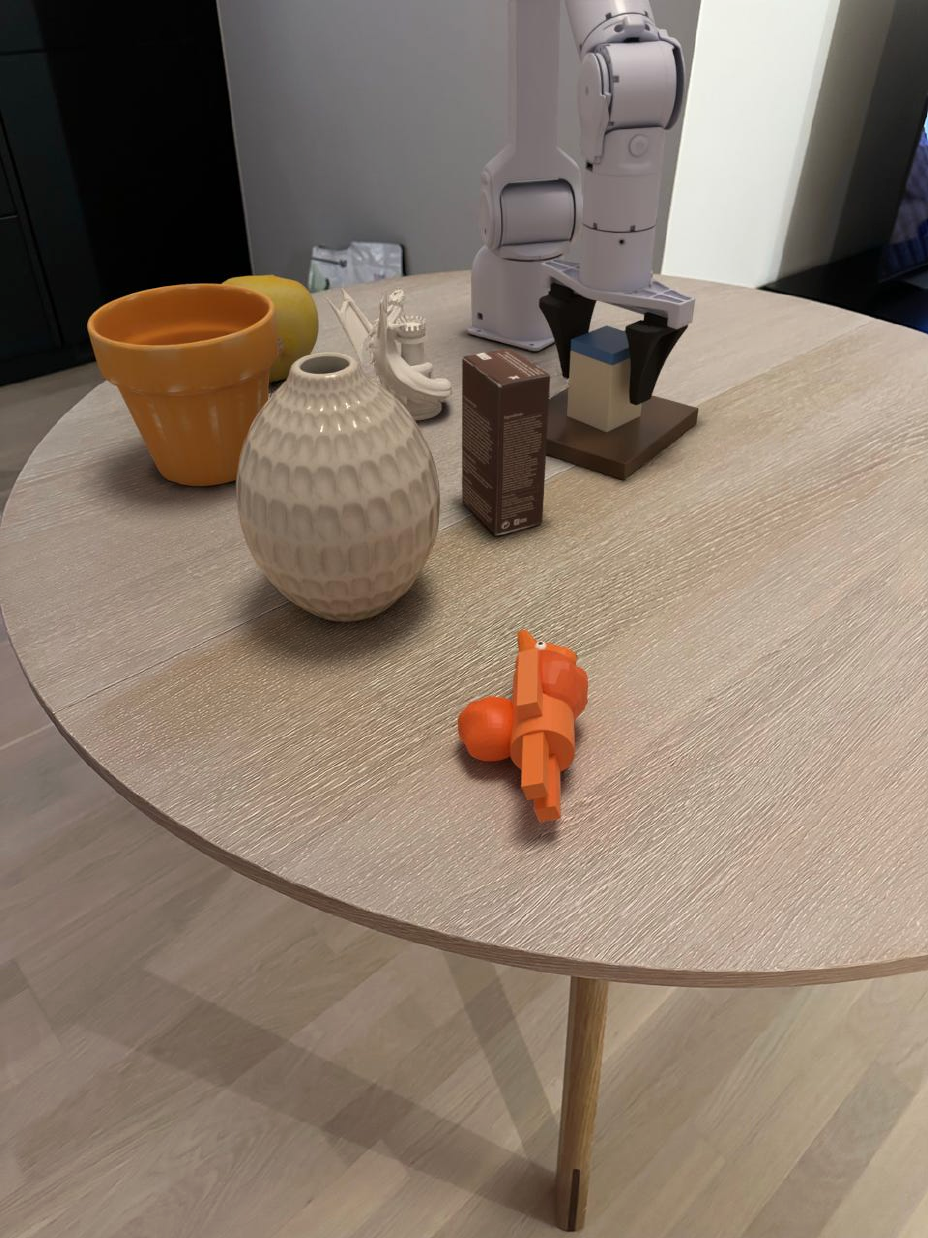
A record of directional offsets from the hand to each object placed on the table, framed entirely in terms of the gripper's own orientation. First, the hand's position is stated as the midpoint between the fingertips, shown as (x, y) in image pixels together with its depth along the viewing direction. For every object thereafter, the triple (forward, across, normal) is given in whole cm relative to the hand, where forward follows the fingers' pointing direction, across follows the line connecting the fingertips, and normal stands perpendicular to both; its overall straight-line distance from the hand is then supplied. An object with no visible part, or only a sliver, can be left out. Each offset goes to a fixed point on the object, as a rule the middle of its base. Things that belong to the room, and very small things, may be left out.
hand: (605, 387), depth 80 cm
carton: (+3, 0, 0) cm, 3 cm away
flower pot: (+4, +20, +28) cm, 35 cm away
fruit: (+4, +32, +14) cm, 35 cm away
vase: (+4, -4, +31) cm, 32 cm away
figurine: (+4, +16, +10) cm, 20 cm away
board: (+4, 0, 0) cm, 4 cm away
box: (+4, -4, +16) cm, 17 cm away
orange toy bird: (+4, -23, +33) cm, 40 cm away
